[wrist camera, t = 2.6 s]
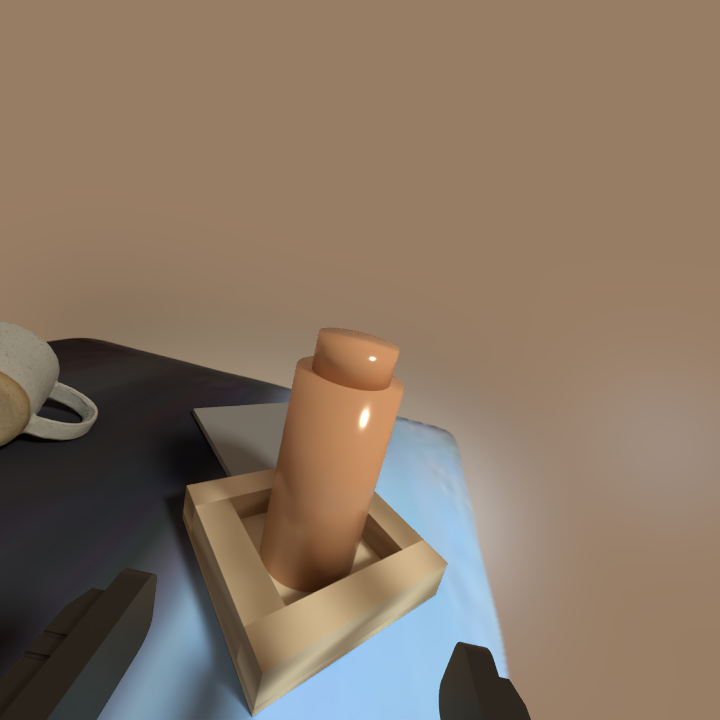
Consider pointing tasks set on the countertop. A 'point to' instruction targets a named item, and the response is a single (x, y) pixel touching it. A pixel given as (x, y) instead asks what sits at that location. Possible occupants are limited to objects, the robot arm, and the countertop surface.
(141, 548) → the countertop surface
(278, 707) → the countertop surface
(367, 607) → the holder
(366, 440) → the peach capped cylinder
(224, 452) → the mat
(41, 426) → the ceramic mug
